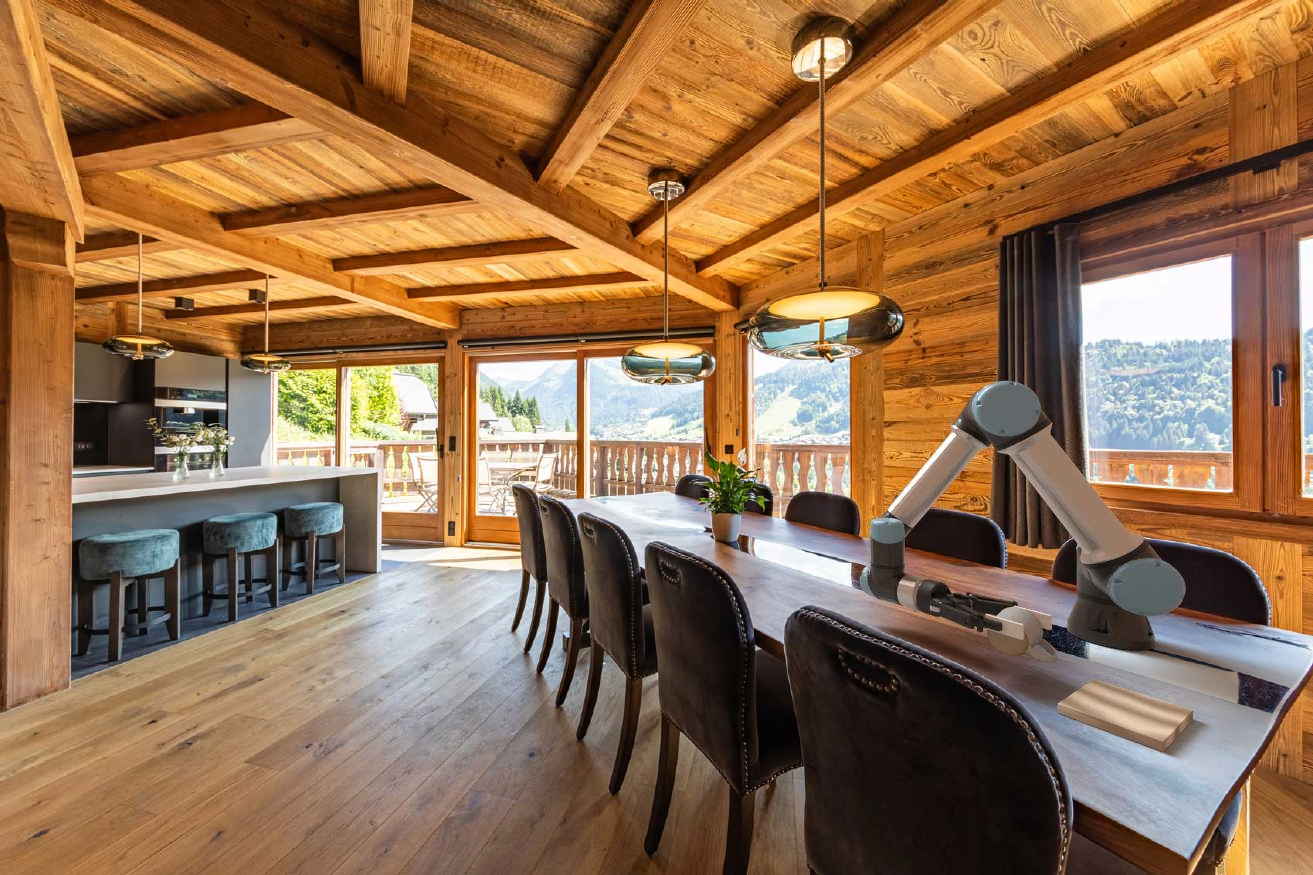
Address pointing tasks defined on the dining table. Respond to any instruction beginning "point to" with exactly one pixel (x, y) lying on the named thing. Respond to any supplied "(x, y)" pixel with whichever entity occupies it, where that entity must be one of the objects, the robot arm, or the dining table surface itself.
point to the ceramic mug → (1031, 636)
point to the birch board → (1127, 714)
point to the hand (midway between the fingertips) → (1037, 627)
